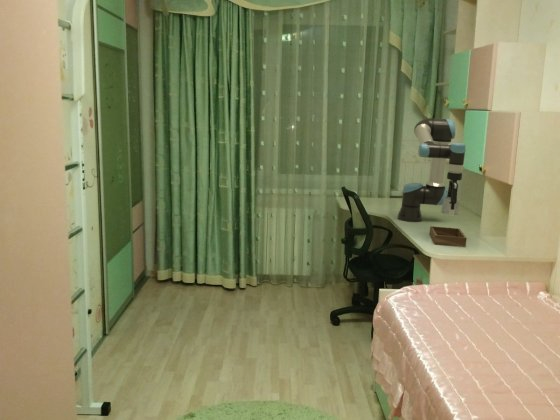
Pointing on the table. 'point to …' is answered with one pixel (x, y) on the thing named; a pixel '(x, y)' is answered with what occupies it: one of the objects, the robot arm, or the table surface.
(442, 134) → the robot arm
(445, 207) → the medicine box
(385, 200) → the table surface
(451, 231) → the walnut box
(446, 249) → the table surface
